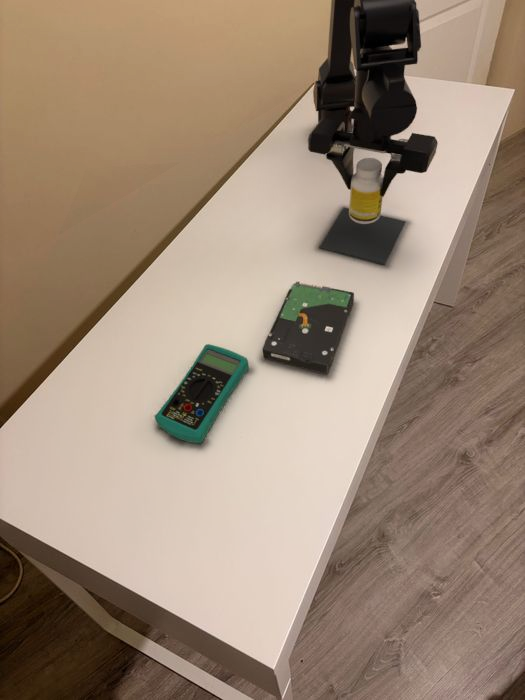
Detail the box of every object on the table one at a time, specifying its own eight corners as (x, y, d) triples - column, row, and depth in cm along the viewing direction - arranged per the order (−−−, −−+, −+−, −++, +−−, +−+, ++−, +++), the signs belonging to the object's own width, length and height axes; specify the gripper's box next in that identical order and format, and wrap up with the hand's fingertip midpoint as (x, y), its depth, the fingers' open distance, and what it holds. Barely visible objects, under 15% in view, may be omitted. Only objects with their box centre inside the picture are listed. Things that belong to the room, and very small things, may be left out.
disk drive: (329, 376, 72) (354, 302, 80) (329, 365, 70) (355, 290, 78) (262, 360, 75) (292, 290, 83) (261, 349, 73) (292, 278, 80)
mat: (319, 248, 88) (319, 246, 88) (343, 208, 94) (343, 207, 94) (384, 265, 84) (384, 263, 84) (405, 222, 90) (405, 221, 90)
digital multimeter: (155, 429, 69) (149, 419, 67) (209, 351, 77) (206, 339, 74) (199, 449, 67) (194, 439, 64) (251, 367, 74) (249, 355, 72)
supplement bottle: (382, 224, 84) (388, 173, 76) (350, 226, 85) (353, 176, 77) (378, 204, 88) (384, 153, 80) (347, 206, 88) (350, 156, 80)
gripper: (457, 79, 71) (436, 175, 83) (334, 64, 77) (332, 155, 89) (436, 118, 65) (417, 215, 78) (305, 98, 71) (307, 191, 84)
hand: (366, 191), depth 82 cm, fingers closed on supplement bottle, 5 cm apart
